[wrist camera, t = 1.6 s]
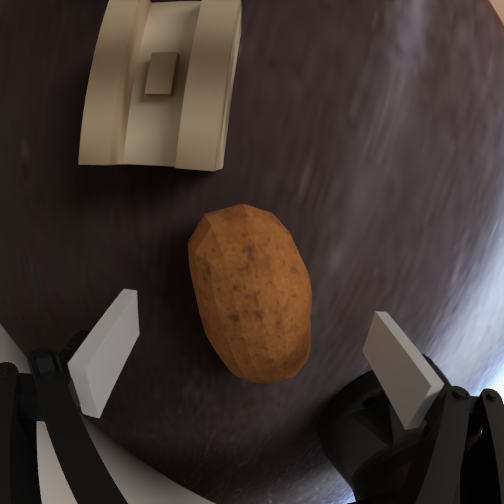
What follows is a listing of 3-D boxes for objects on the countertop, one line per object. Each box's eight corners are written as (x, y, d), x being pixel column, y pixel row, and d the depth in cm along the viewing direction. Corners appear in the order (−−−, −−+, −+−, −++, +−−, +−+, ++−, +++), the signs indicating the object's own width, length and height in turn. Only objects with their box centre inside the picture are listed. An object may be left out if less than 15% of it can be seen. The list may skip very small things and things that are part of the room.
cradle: (222, 168, 20) (214, 171, 13) (123, 161, 19) (78, 164, 13) (241, 32, 17) (241, -14, 10) (144, 31, 16) (111, -8, 10)
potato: (288, 188, 20) (313, 202, 13) (310, 346, 24) (330, 405, 17) (184, 207, 20) (157, 231, 14) (224, 361, 24) (220, 424, 17)
